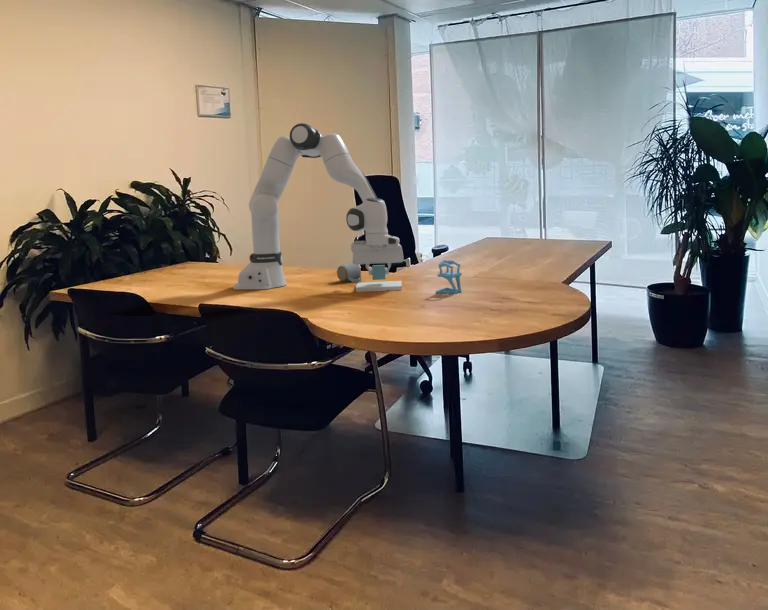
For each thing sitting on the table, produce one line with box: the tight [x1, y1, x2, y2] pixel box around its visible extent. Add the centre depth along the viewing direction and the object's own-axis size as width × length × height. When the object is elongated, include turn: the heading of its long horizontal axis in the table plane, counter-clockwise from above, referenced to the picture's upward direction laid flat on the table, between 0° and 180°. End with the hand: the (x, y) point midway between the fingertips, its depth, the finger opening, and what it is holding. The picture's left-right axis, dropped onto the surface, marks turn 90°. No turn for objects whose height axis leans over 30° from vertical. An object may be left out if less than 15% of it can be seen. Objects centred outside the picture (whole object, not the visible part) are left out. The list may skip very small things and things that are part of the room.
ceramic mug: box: [336, 261, 362, 283], centre depth 277 cm, size 11×8×8 cm
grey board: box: [355, 280, 403, 293], centre depth 258 cm, size 18×12×2 cm, turn 89°
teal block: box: [371, 264, 386, 281], centre depth 257 cm, size 5×5×5 cm
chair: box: [435, 259, 463, 295], centre depth 241 cm, size 8×8×12 cm
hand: (378, 274), depth 257 cm, fingers closed on teal block, 5 cm apart
